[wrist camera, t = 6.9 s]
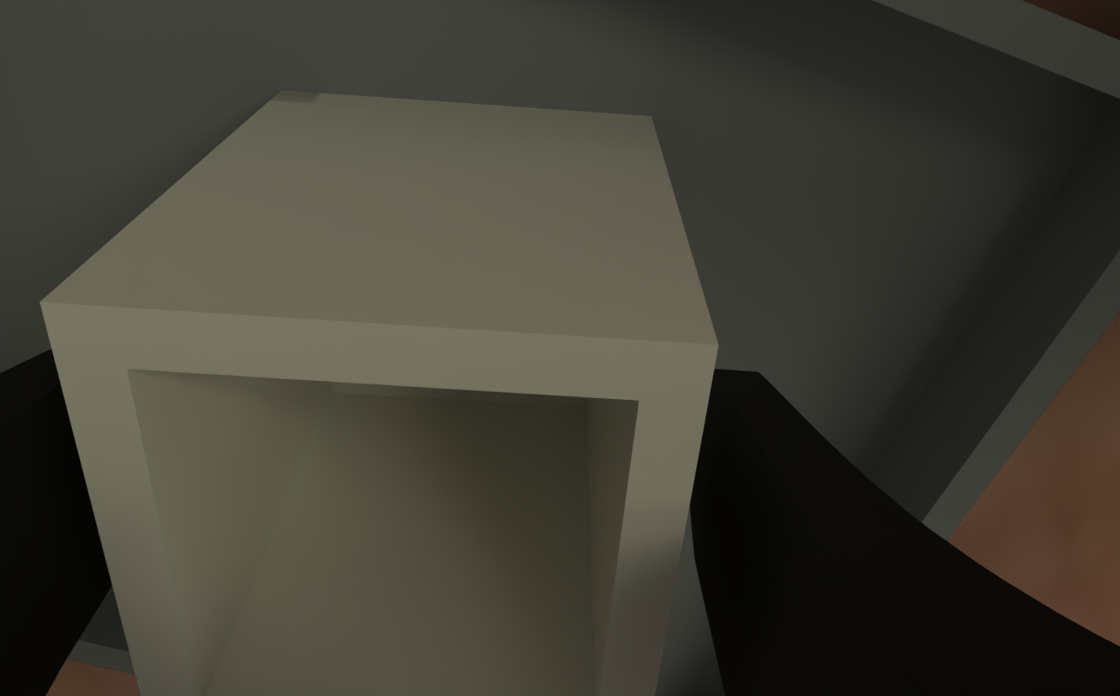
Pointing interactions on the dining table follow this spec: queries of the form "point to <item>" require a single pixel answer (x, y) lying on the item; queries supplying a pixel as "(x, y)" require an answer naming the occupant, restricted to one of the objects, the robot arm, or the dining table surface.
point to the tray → (697, 180)
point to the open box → (395, 404)
